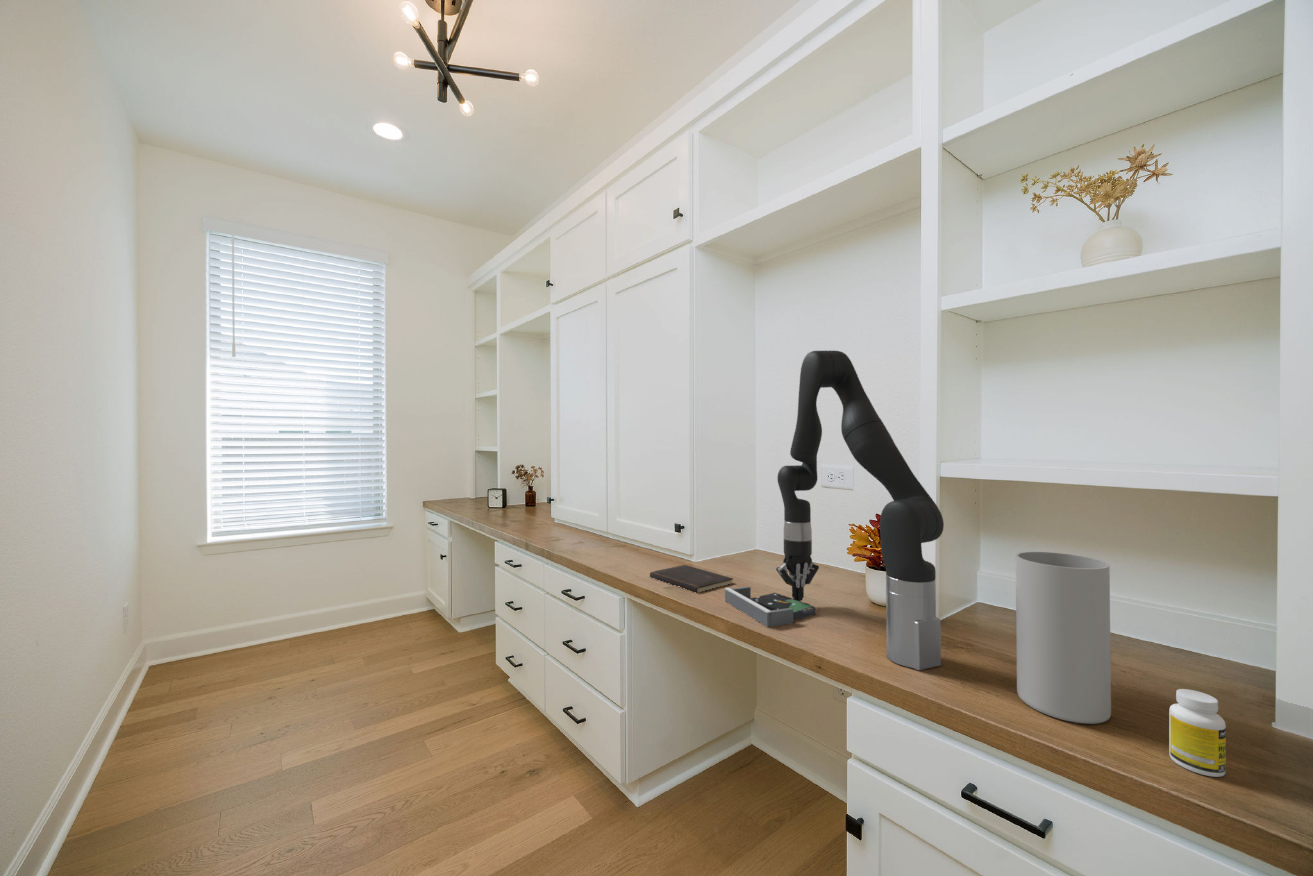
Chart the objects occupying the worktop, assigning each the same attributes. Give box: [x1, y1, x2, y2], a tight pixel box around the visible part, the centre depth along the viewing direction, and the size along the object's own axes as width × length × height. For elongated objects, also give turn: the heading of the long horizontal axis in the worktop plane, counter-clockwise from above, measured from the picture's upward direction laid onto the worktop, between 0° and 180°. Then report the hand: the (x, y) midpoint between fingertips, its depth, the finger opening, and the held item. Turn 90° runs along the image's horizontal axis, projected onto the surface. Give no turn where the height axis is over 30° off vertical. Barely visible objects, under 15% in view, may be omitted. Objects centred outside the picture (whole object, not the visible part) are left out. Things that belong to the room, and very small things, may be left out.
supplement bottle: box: [1168, 688, 1227, 778], centre depth 70 cm, size 5×5×10 cm
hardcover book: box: [649, 564, 734, 594], centre depth 164 cm, size 16×23×2 cm
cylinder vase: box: [1015, 551, 1112, 725], centre depth 86 cm, size 12×12×25 cm
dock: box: [724, 585, 794, 628], centre depth 134 cm, size 21×8×4 cm, turn 21°
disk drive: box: [750, 592, 817, 621], centre depth 135 cm, size 10×3×15 cm
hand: (798, 600), depth 139 cm, fingers closed
